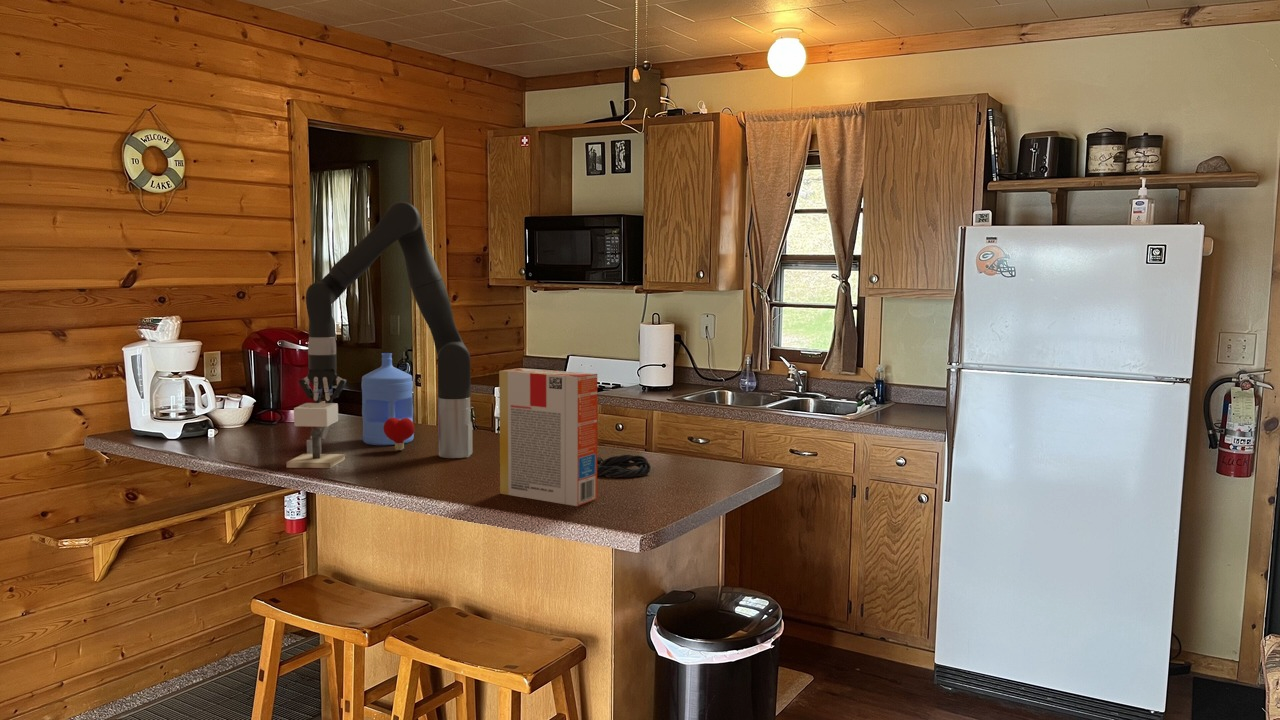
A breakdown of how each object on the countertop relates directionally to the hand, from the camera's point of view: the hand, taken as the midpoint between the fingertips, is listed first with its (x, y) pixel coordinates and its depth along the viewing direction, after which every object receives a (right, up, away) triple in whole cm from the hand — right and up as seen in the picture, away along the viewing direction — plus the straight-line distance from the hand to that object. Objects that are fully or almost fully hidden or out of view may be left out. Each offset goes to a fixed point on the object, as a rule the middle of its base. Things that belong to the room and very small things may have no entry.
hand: (323, 413), depth 264 cm
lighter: (-5, -13, +10) cm, 17 cm away
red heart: (+18, -12, +13) cm, 26 cm away
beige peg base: (0, -14, -5) cm, 15 cm away
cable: (+85, -16, -15) cm, 87 cm away
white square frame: (0, -2, -4) cm, 4 cm away
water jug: (+10, -11, +29) cm, 33 cm away
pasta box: (+68, -18, -41) cm, 82 cm away
